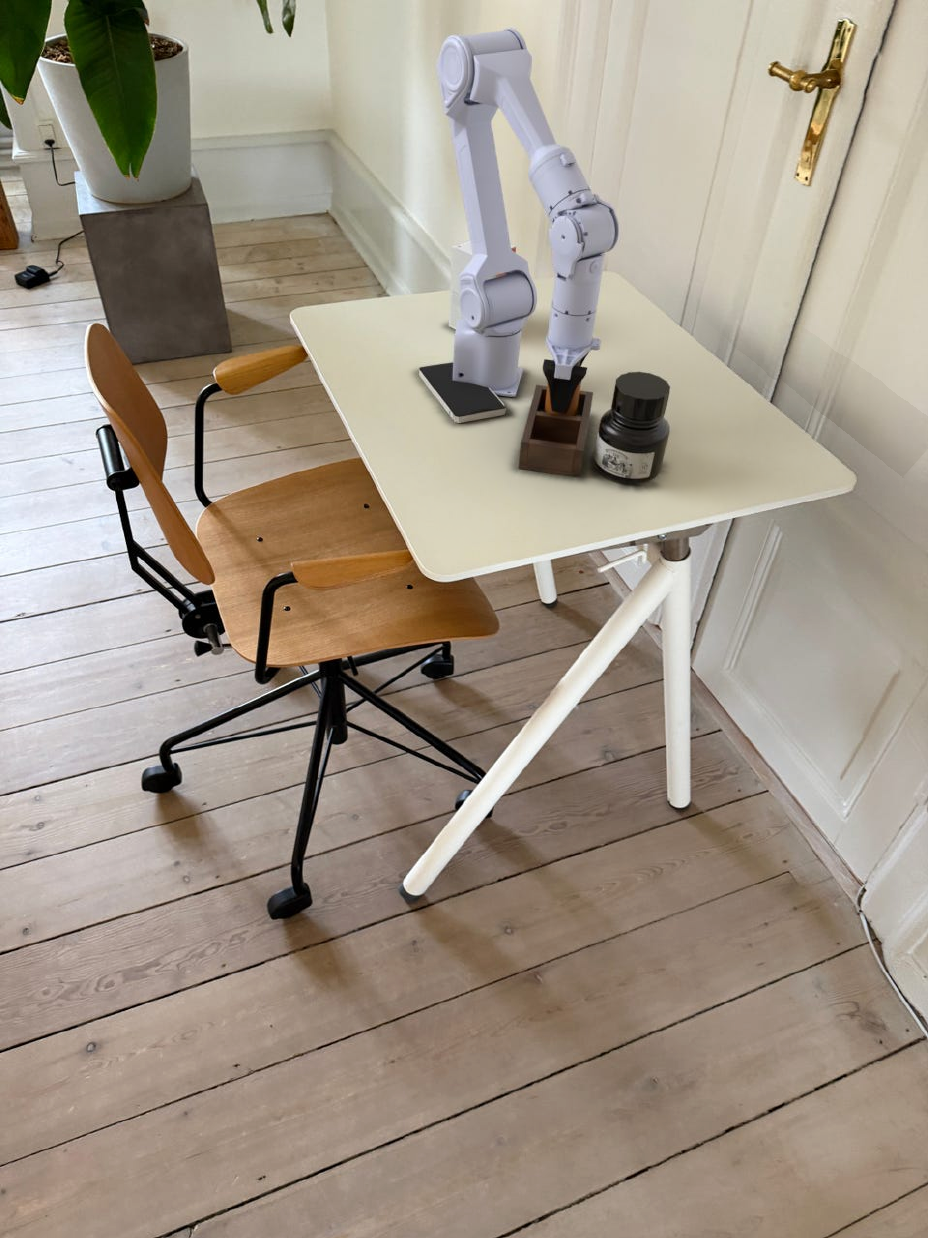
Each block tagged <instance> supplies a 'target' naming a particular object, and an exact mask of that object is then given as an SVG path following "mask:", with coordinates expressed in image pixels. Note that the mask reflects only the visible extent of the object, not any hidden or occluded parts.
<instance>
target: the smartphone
mask: <svg viewBox="0 0 928 1238" xmlns="http://www.w3.org/2000/svg"><path fill="white" fill-rule="evenodd" d="M459 375H460V376H464V374H463V373H460V374H459ZM418 376H419V377H420V378H421V380H422V381H423V382H424V384H425V385H426V387H428V389H429V391H430V392H431V393H432V394H433V395H434V397H435V398H436V400H437V401H438V402H439V403H440V405H441V406H442V408H443V409H444V410H445V412H446V413H447V414H448V415H449V417H450V418H451V419H452V421H453V422H454V423H457V424H461V423H467V422H473V421H477V420H482V419H488V418H495V417H499V416H504V415H505V414H506V413H507V412H506V409H507V406H506V405H505V403H504V402H503V401H502V400H501V399H500V397H498V395H496V394H495V393H494V392H493V391H492V390H491V388H488V387H484V386H481V385H477V384H473V383H467V382H459V381H453V361H451V362H445V363H439V364H433V365H432V364H431V365H426V366H420V367H419V368H418Z"/></svg>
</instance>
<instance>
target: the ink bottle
mask: <svg viewBox="0 0 928 1238" xmlns="http://www.w3.org/2000/svg"><path fill="white" fill-rule="evenodd" d="M670 390H671V386H670V384H669V382H668V381H667V380H665V379H664V378H662V377H661V376H659V375H656V374H653V373H650V372H644V371H629V372H625V373H623V374H620V375H619V376H618V377H617V378H616V379H615V383H614V388H613V392H612V393H613V394H612V399H611V405H610V409H608V410H607V411H606V412H604V414H603V415H602V416H601V419H600V422H599V424H598V425H599V426H598V430H597V437H596V442H595V449H594V455H593V456H594V457H593V465H594V467H595V469H596V470H597V471H598V472H599V473H600V474H601V475H603V476H604V477H605V478H608V479H609V480H612V481H615V482H617V483H621V484H627V485H639V484H641V485H642V484H644V483H648V482H650V481H652V480H654V479H656V477H658V476H659V475H660V473H661V471H662V469H663V468H662V467H663V463H664V458H665V454H666V450H667V446H668V441H669V437H670V430H671V429H670V425H669V422H668V420H667V419H666V418H665V415H666V411H667V406H668V402H669V397H670V393H671V391H670Z"/></svg>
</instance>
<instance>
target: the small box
mask: <svg viewBox="0 0 928 1238" xmlns="http://www.w3.org/2000/svg"><path fill="white" fill-rule="evenodd" d="M510 245H511V250H512V251H513V252H515V253H516V254H517V246H516V245H514V244H511V243H510ZM472 257H473V254H472V249H471V243H470V239H469V240H466V241H464V242H461V243H459V244H456V245H453V246H451V259H450V261H451V262H450V287H449V307H448V308H449V313H448V327H450V328H452V329H453V330H455V331H456V328H457V324H458V321H459V320H460V319H463V317H462V315H461V311H460V306H459V299H460V282H459V275H460V274H461V272H462V271H463V270H464V268H465V267H466V266H467V264H468V263H469V262H470V260H471V259H472ZM504 275H505V273H502V274H498V275H494V276H490V277H488V278H487V279H486V280H488V279H492V278H496V277H500V276H504Z"/></svg>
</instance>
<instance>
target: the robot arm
mask: <svg viewBox="0 0 928 1238" xmlns="http://www.w3.org/2000/svg"><path fill="white" fill-rule="evenodd" d="M532 57H533V56H532V55H531V53H530V52H529V50H528V47H527V44H526V41H525V39H524V37H523V35H522V34H521V33H520V31H518V30H517V29H515V28H512V27H511V28H505V29H503V30H498V31H497V30H496V31H489V32H480V33H471V34H462V35H459V34H452V35H449V36H448V37H446V38H445V40H444V42H443V43H442V45H441V49H440V51H439V55H438V57H437V60H436V63H435V66H436V72H437V79H438V84H439V88H440V95H441V100H442V106H443V112H444V114H445V115H446V116H447V117H448V121H449V128H450V133H451V134H450V135H451V139H452V140H451V141H452V145H453V151H454V156H455V163H456V167H457V172H458V173H457V174H458V181H459V186H460V191H461V196H462V203H463V208H464V214H465V219H466V224H467V225H466V226H467V230H468V231H467V232H468V237H469V240H470V243H471V249H472V254H473V257H472V259H471V260H470V262H469V263H468V264H467V266H466V267H465V268H464V270H463V271H462V272H461V274H460V275H459V282H460V299H459V306H460V311H461V315H462V317H463V319H460V320H459V321H458V324H457V328H456V330H455V333H454V342H453V357H452V358H453V360H452V362H453V381H459V382H467V383H473V384H477V385H481V386H484V387H488V388H491V390H492V391H493V392H494V393H495V394H496V395H497V396H502V397H511V398H515V397H516V396H517V393H518V390H519V387H520V382H521V379H522V376H523V373H524V369H522V368H520V367H519V363H520V351H521V339H522V331H523V326H526V325H527V320H528V317H531V315H532V314H534V312H535V311H536V308H537V304H538V291H537V287H536V284H535V282H534V281H533V279H532V276H531V273H530V269H529V263H528V261H527V260H526V259H525V258H523V257H522V255H519V254H518V253H517V252H516V253H515V252H513V251H512V250H511V245H512V244H511V240H510V233H509V227H508V220H507V214H506V208H505V203H504V194H503V190H502V189H503V188H502V183H501V176H500V170H499V163H498V158H497V151H496V146H495V139H494V132H493V126H492V121H493V119H494V117H495V115H496V113H497V112H498V110H500V111H501V113H502V115H503V116H504V118H505V119H506V121H507V123H508V125H509V126H510V128H511V130H512V131H513V133H514V135H515V136H516V138H517V139H518V141H519V143H520V145H521V146H522V148H523V149H524V151H525V153H526V155H527V156H528V158H529V159H530V163H529V166H528V172H527V176H528V180H529V182H530V183H531V186H532V187H533V189H534V191H535V194H536V196H537V198H538V200H539V201H540V203H541V206H542V207H543V209H544V211H545V214H546V215H547V218H548V219H549V221H550V223H551V227H549V228H548V240H549V246H550V248H551V253H552V260H551V265H552V266H553V267H552V268H553V271H554V279H553V287H552V289H553V290H552V297H551V306H550V314H549V324H548V332H547V334H546V336H545V345H546V347H547V349H548V351H549V354H550V356H551V358H552V359H546V358H544V359H543V362H542V372H543V373H542V374H543V375H544V377H545V379H546V382H547V385H548V386H549V392H550V403H551V409H552V411H553V412H560V413H567V412H568V410H569V407H570V405H571V402H572V399H573V395H574V393H575V390H576V388H577V386H578V385H579V383H580V382H581V383H582V381H583V380H584V379H585V377H586V376H587V373H588V372H587V371H588V367H586V366H582V365H583V363H584V361H585V359H586V357H587V356H588V354H589V353H590V352H591V351H600V349H601V344H602V340H601V339H600V338H598V337H594V330H595V324H596V323H595V322H596V316H597V311H598V304H599V296H600V290H601V284H602V278H603V277H602V276H603V271H604V264H605V257H606V254H605V253H609V252H611V251H612V250H613V249H614V248H615V246H616V245H617V242H618V239H619V234H620V227H619V226H620V225H619V221H618V217H617V215H616V212H615V211H616V210H615V208H614V207H613V206H612V205H611V204H610V203H609V202H608V201H605V200H602V199H601V198H600V196H599V195H598V194H597V193H593V191H592V189H591V188H590V185H589V183H588V182H587V180H586V178H585V176H584V174H583V172H582V170H581V168H580V166H579V163H578V162H577V159H576V157H575V155H574V153H573V151H572V150H571V149H570V148H569V147H567V146H564V145H560V144H558V143H557V142H556V139H555V137H554V135H553V132H552V130H551V127H550V125H549V122H548V120H547V117H546V115H545V112H544V110H543V108H542V105H541V103H540V101H539V97H538V95H537V93H536V90H535V88H534V86H533V83H532V81H531V75H532V68H533V67H532V65H533V58H532ZM510 244H511V245H510ZM502 273H505V275H504V276H500V277H496V278H492V279H488V280H486V279H487V278H488V277H490V276H494V275H498V274H502ZM580 359H581V360H580ZM579 360H580V366H574V365H575V364H576V363H577V362H578V361H579ZM460 373H463V374H464V376H460V375H459V374H460Z"/></svg>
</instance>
